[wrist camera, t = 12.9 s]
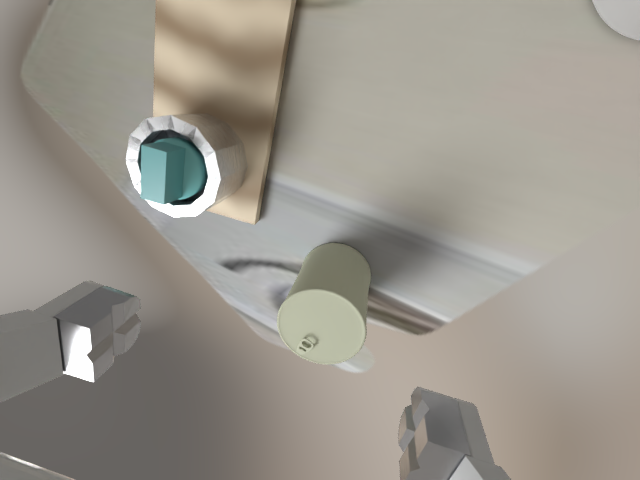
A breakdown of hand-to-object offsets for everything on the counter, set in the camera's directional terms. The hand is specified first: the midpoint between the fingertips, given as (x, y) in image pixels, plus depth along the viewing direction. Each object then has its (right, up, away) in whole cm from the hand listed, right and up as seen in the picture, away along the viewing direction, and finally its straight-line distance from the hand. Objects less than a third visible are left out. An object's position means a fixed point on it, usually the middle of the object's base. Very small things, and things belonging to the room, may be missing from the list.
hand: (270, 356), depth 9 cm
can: (+4, -1, +34) cm, 34 cm away
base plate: (-10, +19, +28) cm, 36 cm away
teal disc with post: (-13, +11, +24) cm, 30 cm away
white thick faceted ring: (-12, +13, +29) cm, 34 cm away
